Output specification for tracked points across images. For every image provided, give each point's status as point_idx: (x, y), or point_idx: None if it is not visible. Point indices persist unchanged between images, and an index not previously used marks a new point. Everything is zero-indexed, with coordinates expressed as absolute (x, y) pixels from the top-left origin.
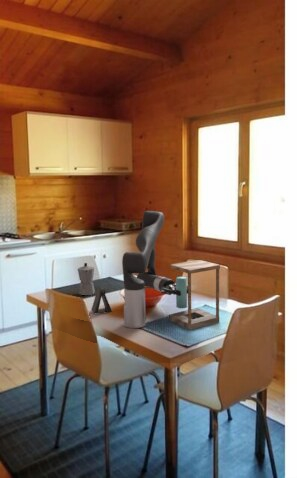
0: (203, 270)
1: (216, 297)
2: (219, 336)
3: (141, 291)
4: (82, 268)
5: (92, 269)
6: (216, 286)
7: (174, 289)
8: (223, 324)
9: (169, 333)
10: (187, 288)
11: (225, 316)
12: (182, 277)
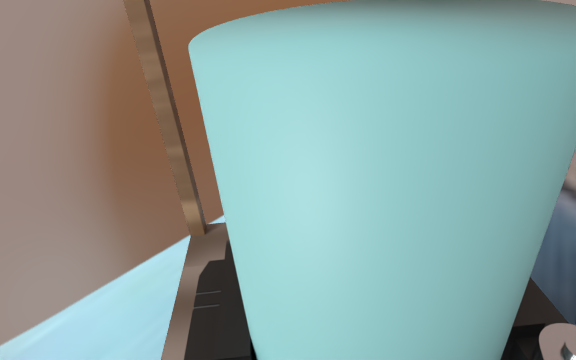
0: None
1: (175, 115)
2: None
3: None
4: None
5: None
6: (151, 23)
7: (559, 334)
8: (212, 223)
9: (552, 230)
10: (225, 288)
11: (83, 303)
12: (296, 42)
